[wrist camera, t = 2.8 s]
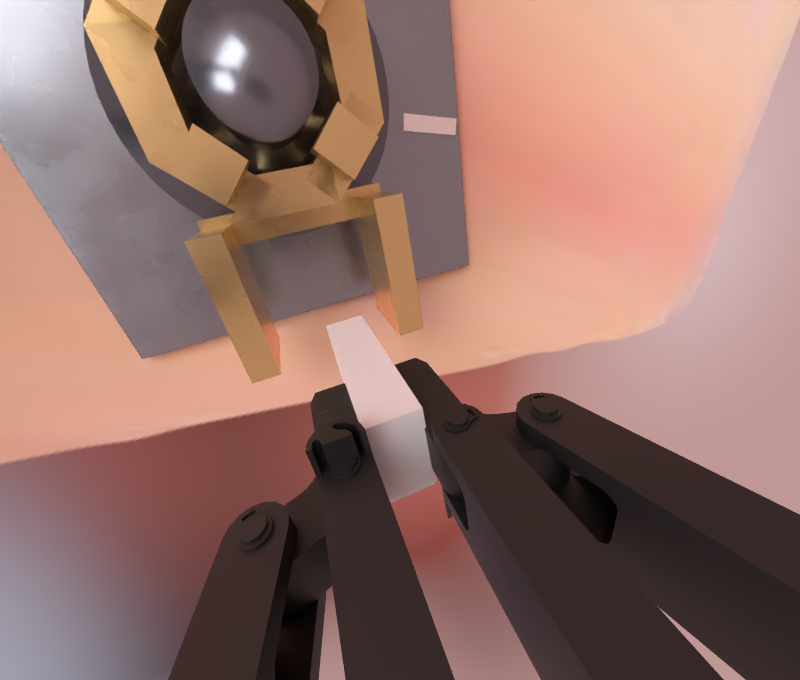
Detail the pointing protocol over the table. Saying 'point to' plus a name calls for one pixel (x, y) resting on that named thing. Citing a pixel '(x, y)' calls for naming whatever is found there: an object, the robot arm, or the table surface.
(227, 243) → the octagonal ring stand
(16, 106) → the cap plate
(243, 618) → the robot arm
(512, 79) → the table surface
